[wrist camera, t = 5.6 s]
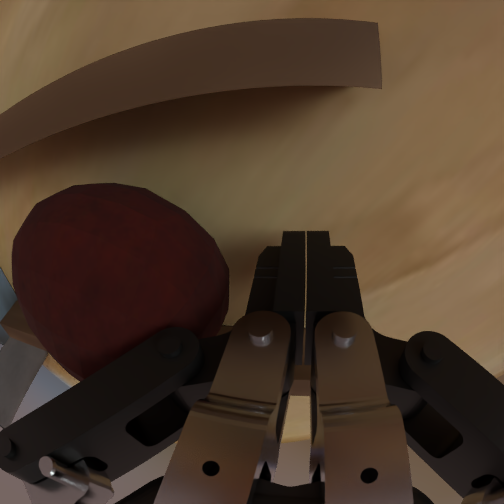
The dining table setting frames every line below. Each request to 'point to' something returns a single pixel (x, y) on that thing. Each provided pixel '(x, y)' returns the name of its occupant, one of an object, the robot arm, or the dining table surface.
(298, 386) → the bay
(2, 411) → the grey tube
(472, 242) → the dining table surface
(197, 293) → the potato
